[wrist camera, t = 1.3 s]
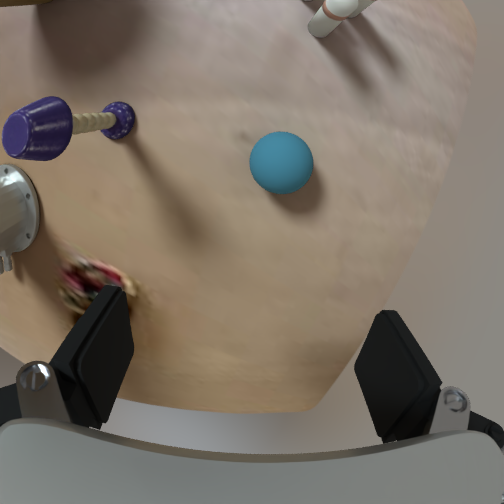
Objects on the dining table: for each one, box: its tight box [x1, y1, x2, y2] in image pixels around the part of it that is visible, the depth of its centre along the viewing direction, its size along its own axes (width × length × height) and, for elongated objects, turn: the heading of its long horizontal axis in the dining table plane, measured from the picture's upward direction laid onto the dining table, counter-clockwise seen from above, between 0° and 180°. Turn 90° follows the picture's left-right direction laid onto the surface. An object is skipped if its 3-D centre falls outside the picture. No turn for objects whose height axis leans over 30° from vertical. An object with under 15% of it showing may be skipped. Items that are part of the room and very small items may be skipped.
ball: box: [250, 132, 313, 194], centre depth 26 cm, size 6×6×6 cm
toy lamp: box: [2, 96, 135, 161], centre depth 19 cm, size 5×5×17 cm
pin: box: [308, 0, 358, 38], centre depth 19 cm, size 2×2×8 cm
